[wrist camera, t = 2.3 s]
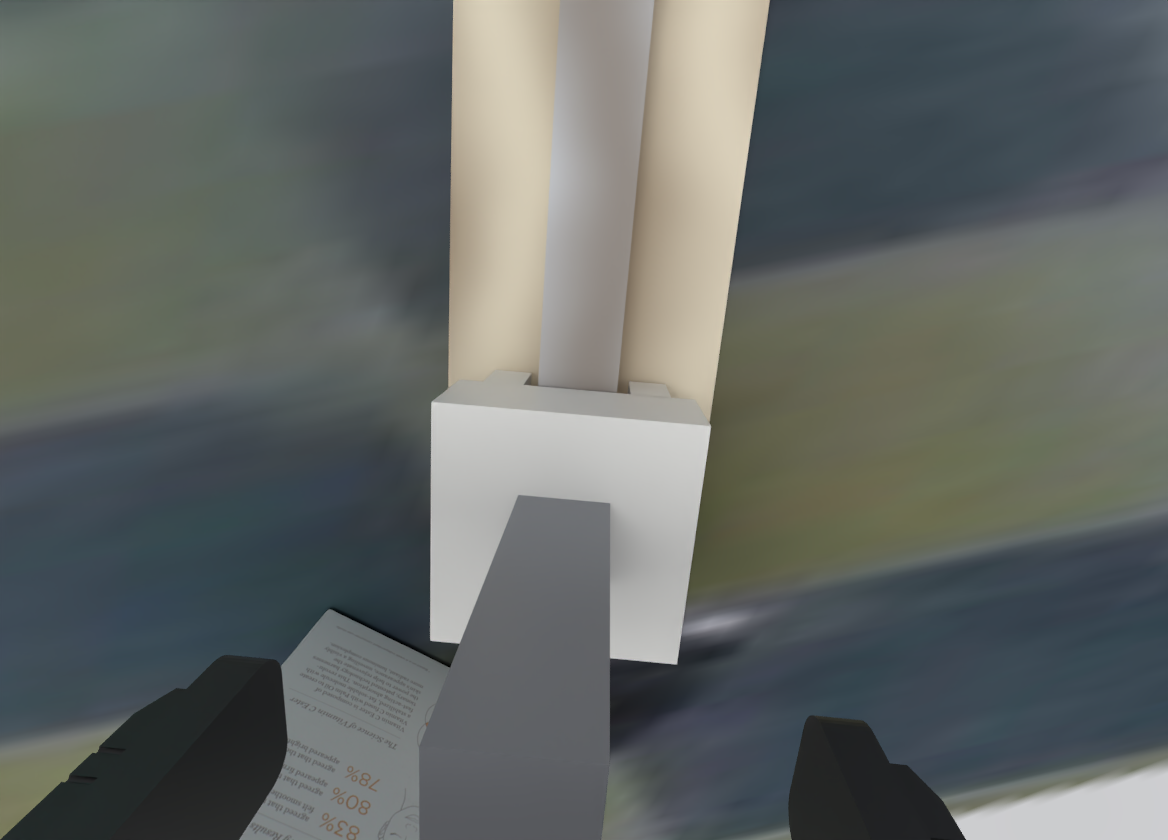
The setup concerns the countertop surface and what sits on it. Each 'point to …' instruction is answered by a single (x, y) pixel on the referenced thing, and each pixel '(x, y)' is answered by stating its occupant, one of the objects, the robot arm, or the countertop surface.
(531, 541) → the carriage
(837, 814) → the robot arm
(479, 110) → the rail
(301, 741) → the small box
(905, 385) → the countertop surface
